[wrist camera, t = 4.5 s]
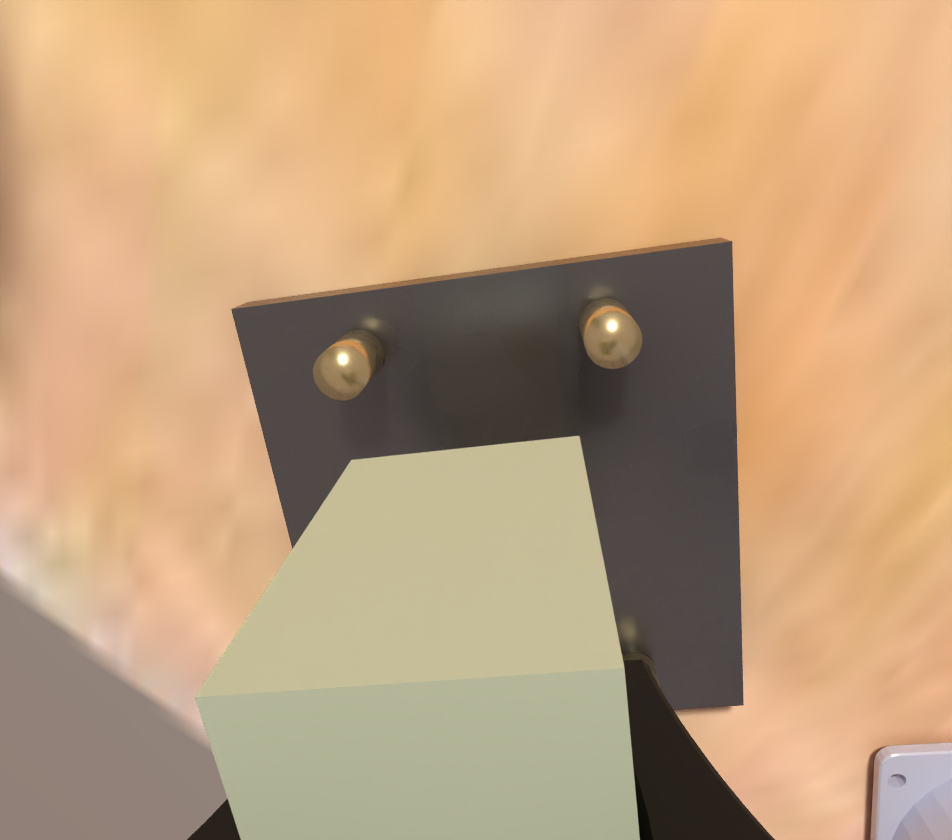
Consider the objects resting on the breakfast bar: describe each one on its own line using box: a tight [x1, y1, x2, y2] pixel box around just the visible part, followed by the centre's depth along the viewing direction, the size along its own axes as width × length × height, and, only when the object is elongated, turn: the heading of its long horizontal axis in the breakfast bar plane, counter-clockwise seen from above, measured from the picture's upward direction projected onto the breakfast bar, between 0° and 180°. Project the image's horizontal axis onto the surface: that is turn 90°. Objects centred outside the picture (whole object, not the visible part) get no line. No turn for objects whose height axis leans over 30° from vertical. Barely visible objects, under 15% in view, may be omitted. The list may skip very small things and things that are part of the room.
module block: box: [195, 436, 640, 840], centre depth 10 cm, size 4×8×6 cm, turn 8°
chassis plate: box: [231, 238, 743, 709], centre depth 18 cm, size 13×12×3 cm
